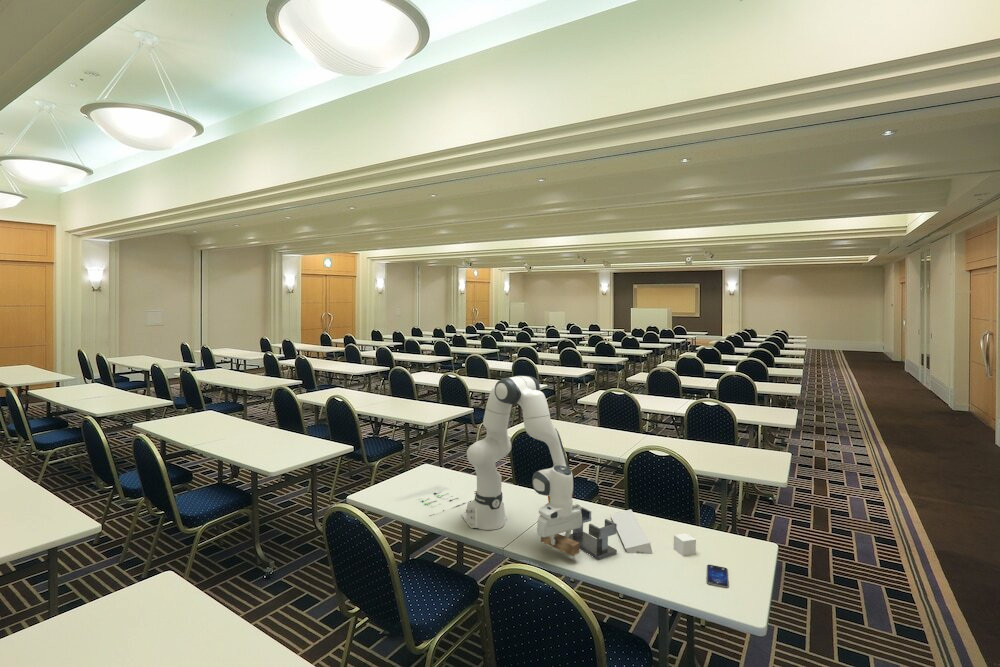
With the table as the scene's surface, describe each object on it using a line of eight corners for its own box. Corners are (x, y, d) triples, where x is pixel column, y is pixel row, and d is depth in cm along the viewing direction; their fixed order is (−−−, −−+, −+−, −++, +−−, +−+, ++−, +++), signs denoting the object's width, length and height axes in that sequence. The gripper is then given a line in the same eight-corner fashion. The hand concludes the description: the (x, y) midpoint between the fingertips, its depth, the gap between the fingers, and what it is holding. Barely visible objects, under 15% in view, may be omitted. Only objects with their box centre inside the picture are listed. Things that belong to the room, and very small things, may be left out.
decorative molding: (628, 560, 205) (652, 554, 205) (625, 548, 205) (650, 542, 205) (612, 524, 239) (633, 519, 239) (610, 514, 239) (631, 509, 239)
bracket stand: (563, 539, 216) (564, 511, 215) (581, 534, 221) (582, 506, 221) (598, 560, 199) (598, 529, 198) (616, 553, 204) (617, 524, 203)
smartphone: (727, 567, 193) (729, 587, 179) (727, 570, 193) (728, 590, 179) (706, 563, 196) (706, 582, 182) (706, 566, 196) (706, 585, 182)
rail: (540, 541, 206) (541, 531, 206) (547, 538, 209) (547, 529, 209) (572, 556, 195) (573, 546, 195) (579, 552, 198) (579, 542, 197)
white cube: (685, 547, 210) (686, 533, 210) (695, 554, 205) (696, 539, 204) (673, 549, 209) (673, 534, 208) (682, 556, 203) (683, 541, 203)
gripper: (576, 500, 209) (574, 533, 210) (535, 510, 198) (534, 545, 199) (586, 506, 204) (585, 540, 205) (545, 516, 193) (544, 551, 194)
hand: (559, 542), depth 202 cm, fingers closed on rail, 4 cm apart
